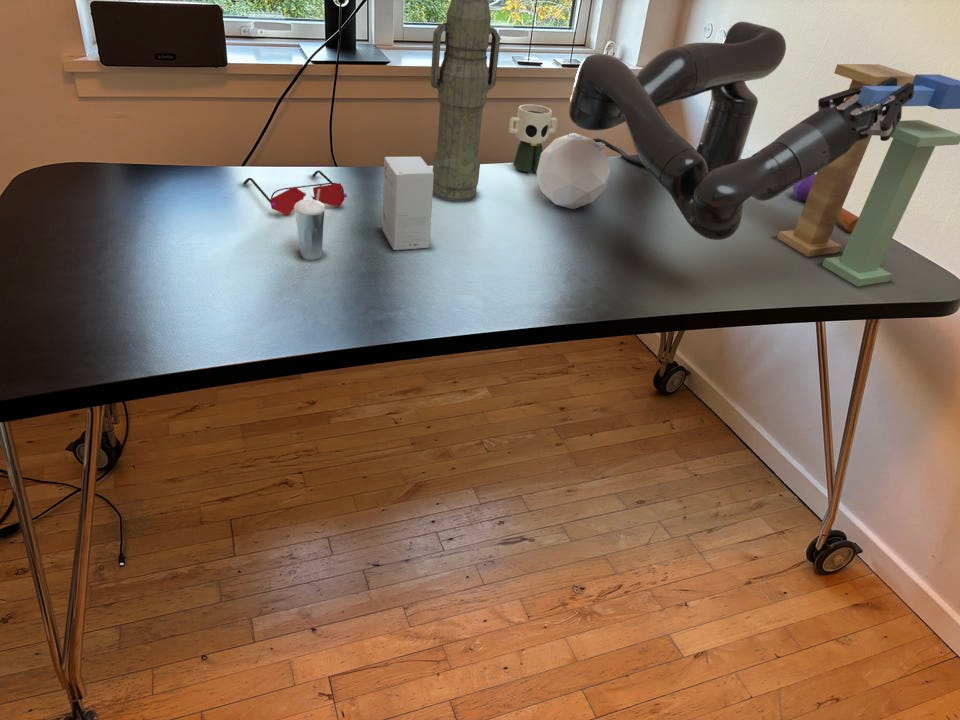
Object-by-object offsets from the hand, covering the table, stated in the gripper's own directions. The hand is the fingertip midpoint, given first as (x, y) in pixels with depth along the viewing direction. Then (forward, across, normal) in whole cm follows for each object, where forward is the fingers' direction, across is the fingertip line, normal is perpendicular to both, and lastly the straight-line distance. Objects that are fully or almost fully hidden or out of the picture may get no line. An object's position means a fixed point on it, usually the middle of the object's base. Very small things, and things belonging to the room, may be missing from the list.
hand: (902, 86), depth 106 cm
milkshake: (-88, +28, -13) cm, 93 cm away
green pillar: (-9, 0, +32) cm, 34 cm away
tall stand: (-9, +12, +32) cm, 35 cm away
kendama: (+5, +24, +41) cm, 47 cm away
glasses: (-86, +51, -12) cm, 101 cm away
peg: (+1, 0, +3) cm, 3 cm away
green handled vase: (-60, +48, +3) cm, 77 cm away
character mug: (-41, +58, +14) cm, 72 cm away
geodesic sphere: (-42, +39, +14) cm, 59 cm away
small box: (-74, +30, -5) cm, 80 cm away
